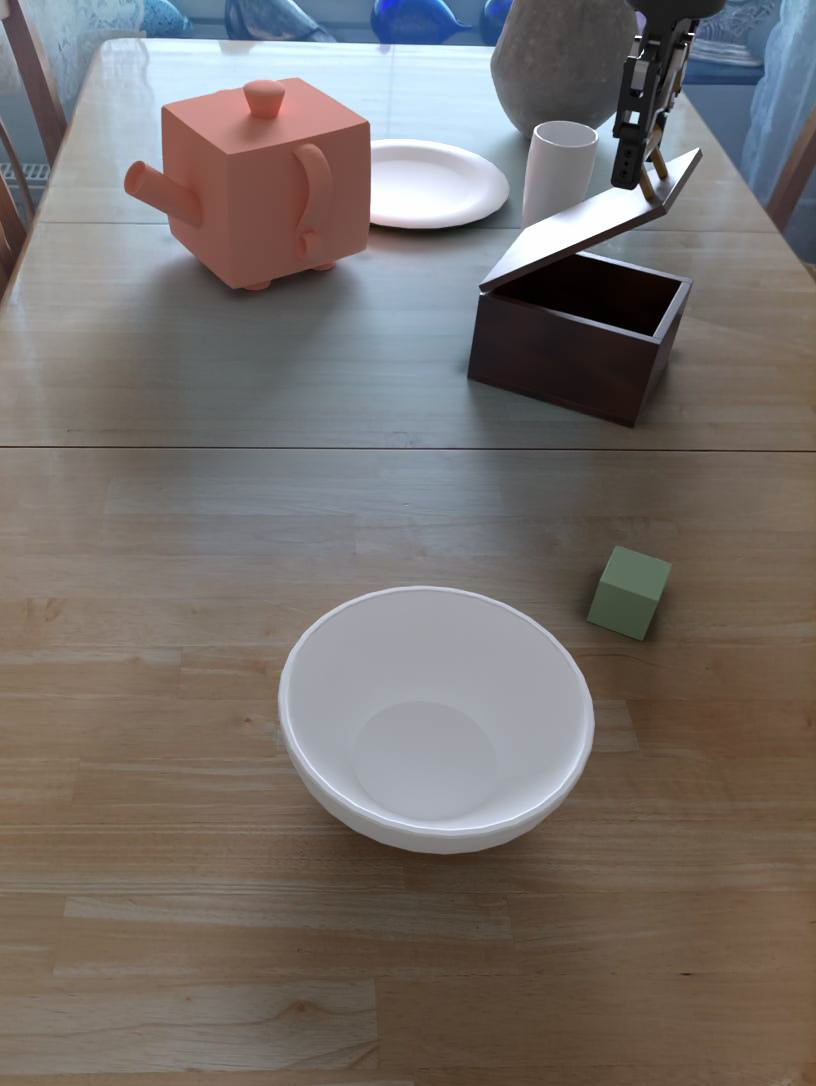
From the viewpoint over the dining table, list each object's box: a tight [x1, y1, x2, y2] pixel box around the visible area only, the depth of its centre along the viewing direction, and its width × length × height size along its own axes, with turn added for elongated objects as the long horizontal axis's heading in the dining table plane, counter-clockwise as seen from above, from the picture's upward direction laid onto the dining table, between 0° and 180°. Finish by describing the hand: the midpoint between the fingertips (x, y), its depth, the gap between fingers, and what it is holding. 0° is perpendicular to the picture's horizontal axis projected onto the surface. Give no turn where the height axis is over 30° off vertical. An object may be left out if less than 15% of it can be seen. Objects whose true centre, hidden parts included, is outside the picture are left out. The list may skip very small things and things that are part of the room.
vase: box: [489, 0, 641, 141], centre depth 126 cm, size 20×19×25 cm
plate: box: [370, 138, 511, 231], centre depth 121 cm, size 25×25×2 cm
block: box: [586, 545, 674, 642], centre depth 73 cm, size 4×4×4 cm
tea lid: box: [478, 123, 704, 293], centre depth 85 cm, size 18×13×5 cm
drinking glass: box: [519, 121, 600, 236], centre depth 104 cm, size 7×7×15 cm
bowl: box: [277, 585, 596, 855], centre depth 63 cm, size 20×20×7 cm
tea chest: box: [466, 250, 695, 429], centre depth 93 cm, size 17×13×9 cm
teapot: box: [123, 76, 372, 291], centre depth 102 cm, size 25×23×18 cm
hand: (633, 172), depth 82 cm, fingers closed on tea lid, 5 cm apart
